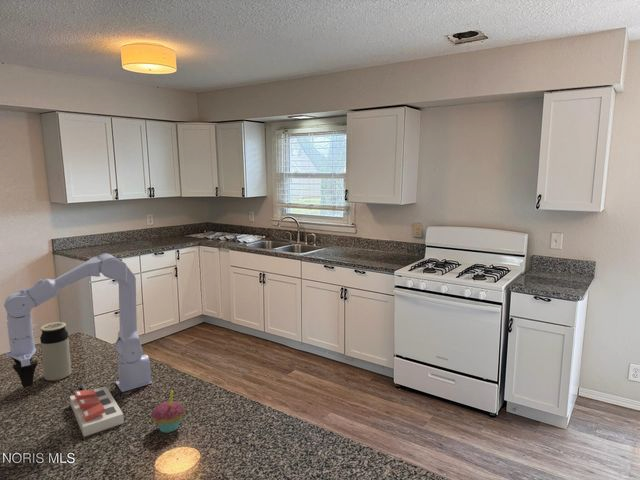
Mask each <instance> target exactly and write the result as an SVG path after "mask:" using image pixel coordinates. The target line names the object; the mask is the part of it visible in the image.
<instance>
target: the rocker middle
mask: <svg viewBox="0 0 640 480" xmlns="http://www.w3.org/2000/svg"><path fill="white" fill-rule="evenodd" d="M100 403H101V402H100V400H99V398H98V397H95V398H87V399H80V400H79V401H78V405H79V407H80V409H85V408H92V407H94V406H96V405H98V404H100Z"/></svg>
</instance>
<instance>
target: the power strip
mask: <svg viewBox="0 0 640 480" xmlns="http://www.w3.org/2000/svg"><path fill="white" fill-rule="evenodd" d="M80 387H81V389H82V390H88V389H87V388H86V385H85V384H84V383H81V384H80ZM82 390H81V391H82ZM94 391H95V393H96V397H98V398H99V400H100V402H101V403H102V405H103V407H104V409H105V413H103V414H101V415H99V416H97V417H95V418H92V419H90V420H88V421H86V420H85V418H84V416H83V413H82V412H83V411H85V410H88V409H90V408H85V409H80V407H79V405H78V401H79V400H76V398H75V396H74V394H72V395H70V396H69V403H70V407H71V409H72V412H73V414H74V417H75V419H76V422H77V424H78V426H79V429H80V431H81V434H82V436H83V437H88V436H91V435H93V434H97V433H99V432H102V431H105V430H107V429H110V428H115V427H116V426H117V427H118V426H120V425H122V424H125V420H124V418H125V417H124V413H123V411H122V410H121V408H120V406H119V404H118V403H117V401H116V400H115V398H114V396H113V395H112V393H111V392H110V390H109V388H108V387H107V385H106V386H101V387H98V388H95V389H94Z"/></svg>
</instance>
